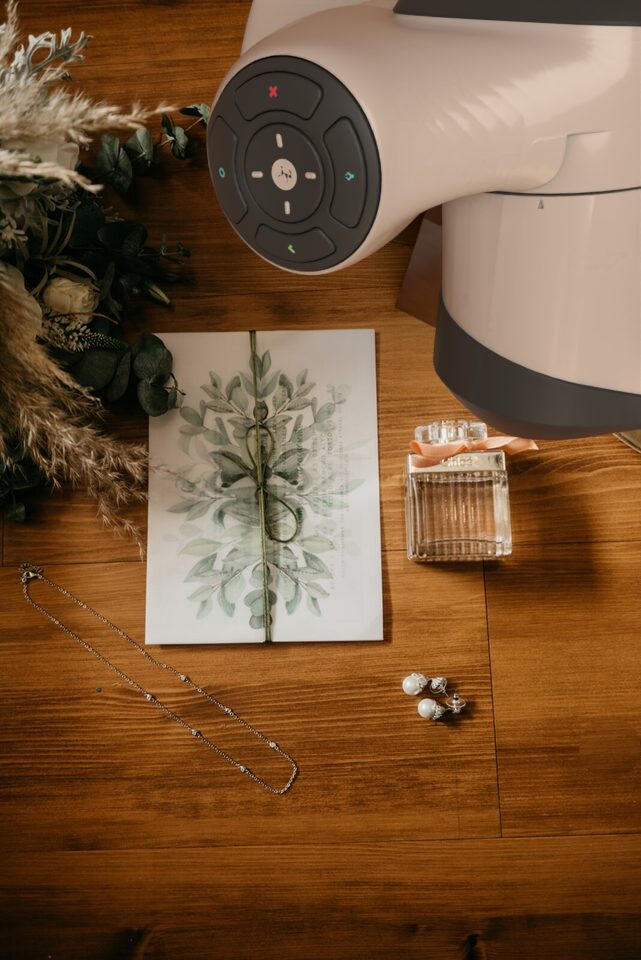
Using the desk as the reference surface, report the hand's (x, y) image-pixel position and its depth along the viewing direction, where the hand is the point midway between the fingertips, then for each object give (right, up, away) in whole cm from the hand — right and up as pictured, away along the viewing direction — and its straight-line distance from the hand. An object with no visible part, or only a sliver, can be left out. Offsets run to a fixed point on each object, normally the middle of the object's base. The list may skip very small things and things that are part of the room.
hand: (449, 66), depth 47 cm
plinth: (+5, -5, +37) cm, 38 cm away
